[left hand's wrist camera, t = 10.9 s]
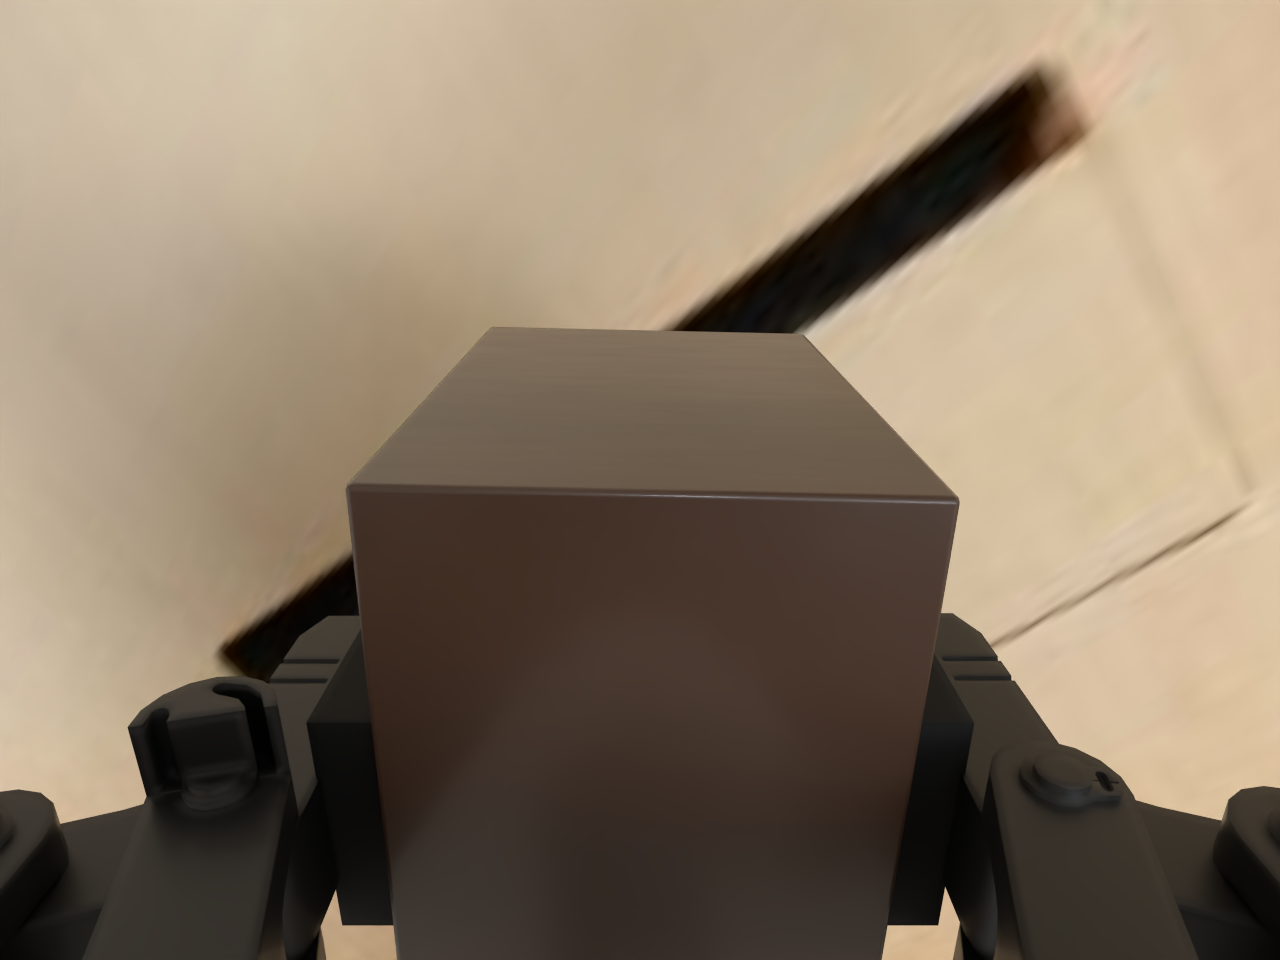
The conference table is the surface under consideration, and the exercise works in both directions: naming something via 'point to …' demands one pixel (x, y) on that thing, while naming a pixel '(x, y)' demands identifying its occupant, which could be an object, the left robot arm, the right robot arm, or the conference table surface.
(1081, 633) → the conference table surface
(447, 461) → the plank
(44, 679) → the conference table surface
